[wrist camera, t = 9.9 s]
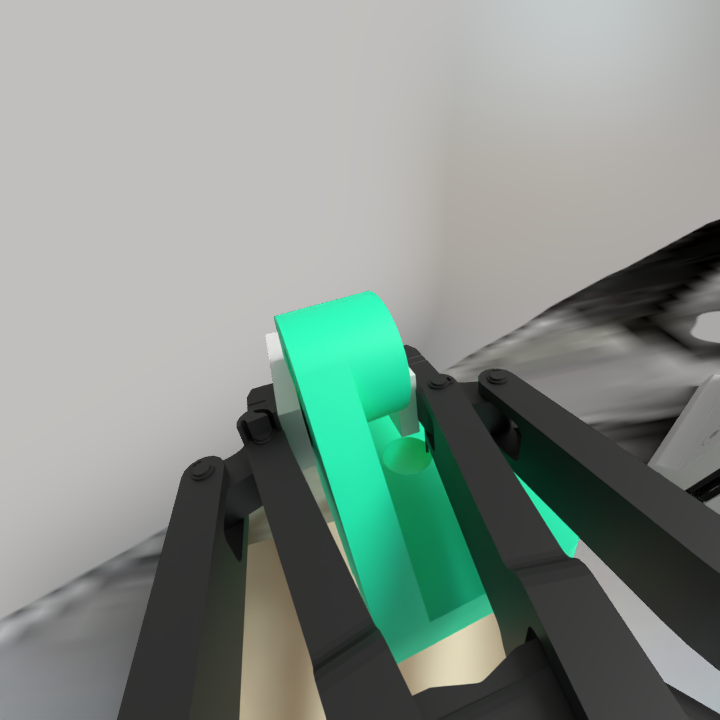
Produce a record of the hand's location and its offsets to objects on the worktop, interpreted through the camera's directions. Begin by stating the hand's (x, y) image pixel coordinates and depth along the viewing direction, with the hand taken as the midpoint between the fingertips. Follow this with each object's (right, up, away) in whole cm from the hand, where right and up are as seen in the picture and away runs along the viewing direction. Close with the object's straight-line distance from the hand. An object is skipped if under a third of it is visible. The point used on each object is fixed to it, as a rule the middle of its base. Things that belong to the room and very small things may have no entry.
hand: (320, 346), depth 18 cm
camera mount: (+4, -7, -1) cm, 9 cm away
